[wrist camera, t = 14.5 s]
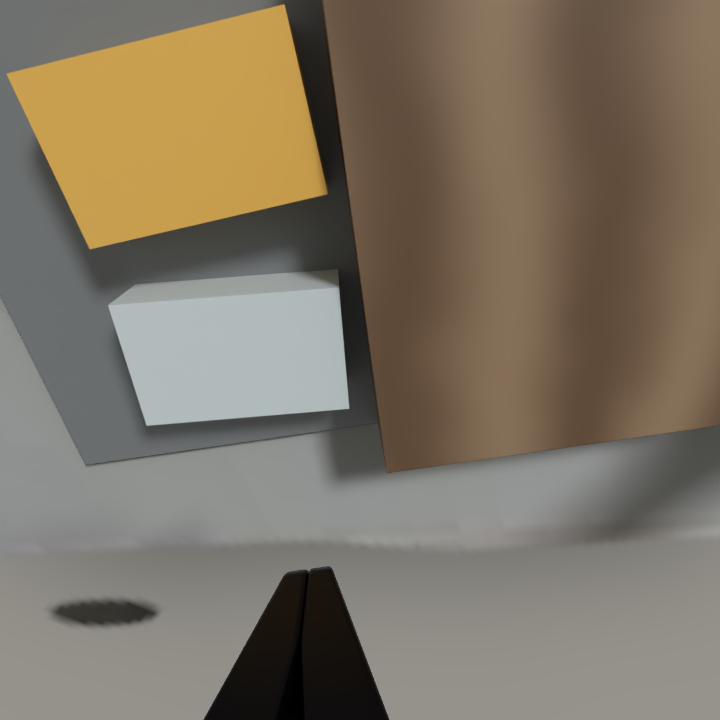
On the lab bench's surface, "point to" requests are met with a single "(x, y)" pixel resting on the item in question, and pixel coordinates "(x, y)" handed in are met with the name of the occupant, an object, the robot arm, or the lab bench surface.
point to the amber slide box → (177, 127)
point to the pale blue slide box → (234, 346)
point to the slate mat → (155, 238)
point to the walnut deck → (532, 218)
